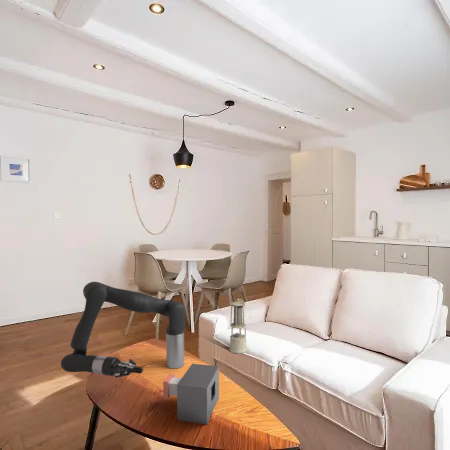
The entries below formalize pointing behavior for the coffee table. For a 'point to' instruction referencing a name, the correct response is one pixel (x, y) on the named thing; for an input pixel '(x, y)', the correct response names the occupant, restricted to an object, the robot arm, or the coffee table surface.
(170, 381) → the plug
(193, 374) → the block
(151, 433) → the coffee table surface
